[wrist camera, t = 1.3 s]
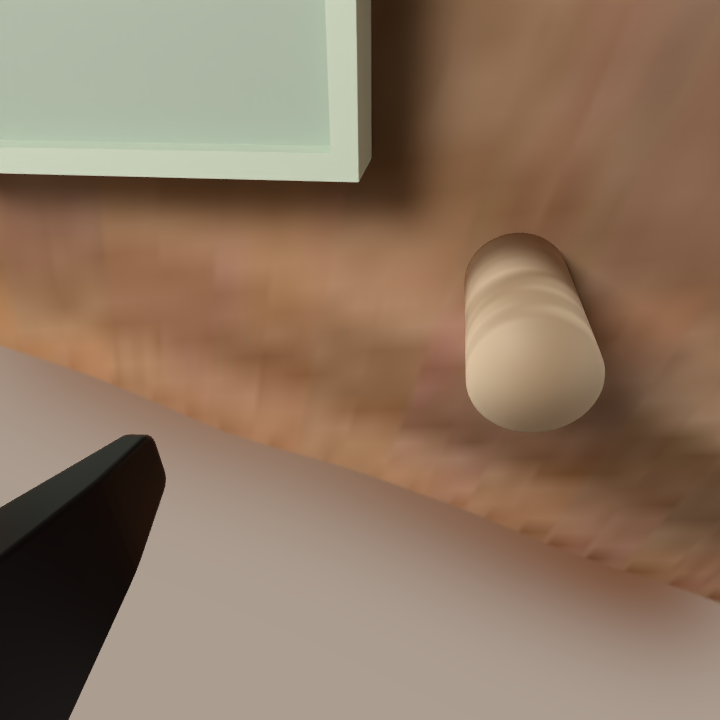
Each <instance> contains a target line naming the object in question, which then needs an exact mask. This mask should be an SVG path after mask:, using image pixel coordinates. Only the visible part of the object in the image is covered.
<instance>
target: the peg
mask: <svg viewBox="0 0 720 720" xmlns="http://www.w3.org/2000/svg"><path fill="white" fill-rule="evenodd" d="M465 351H466V386H467V391H468V394H469V397H470V399H471V401H472V403H473V404H474V406H475V407H476V409H477V410H478V411H479V412H480V413H481V414H482V415H483V416H484V417H486V418H487V419H488V420H490V421H491V422H493V423H495V424H497V425H499V426H501V427H503V428H506V429H509V430H514V431H519V432H531V433H535V432H545V431H550V430H554V429H558V428H561V427H563V426H566V425H568V424H570V423H572V422H574V421H575V420H577V419H578V418H580V417H581V416H583V415H584V414H585V413H586V412H587V411H588V410H589V409H590V408H591V407H592V406H593V405H594V403H595V402H596V400H597V399H598V397H599V395H600V393H601V391H602V388H603V385H604V380H605V366H604V361H603V358H602V355H601V352H600V350H599V347H598V345H597V342H596V340H595V337H594V335H593V332H592V329H591V327H590V324H589V322H588V319H587V317H586V314H585V311H584V309H583V306H582V304H581V301H580V299H579V296H578V294H577V291H576V288H575V286H574V283H573V281H572V278H571V276H570V273H569V270H568V268H567V265H566V263H565V260H564V258H563V256H562V254H561V253H560V252H559V250H558V249H557V248H556V247H555V246H554V245H553V244H552V243H550V242H549V241H547V240H545V239H544V238H542V237H539V236H536V235H532V234H527V233H512V234H507V235H503V236H500V237H497V238H495V239H493V240H491V241H489V242H488V243H486V244H485V245H484V246H482V247H481V248H480V249H479V250H478V251H477V252H476V253H475V255H474V256H473V257H472V259H471V261H470V263H469V265H468V267H467V270H466V274H465Z"/></svg>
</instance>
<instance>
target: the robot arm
mask: <svg viewBox="0 0 720 720" xmlns="http://www.w3.org/2000/svg"><path fill="white" fill-rule="evenodd" d="M165 483H166V476H165V471H164V468H163V465H162V462H161V459H160V456H159V453H158V450H157V447H156V444H155V441H154V439H153V438H152V437H151V436H149V435H133V434H131V435H124V436H122V437H121V438H119V439H117V440H115V441H114V442H112V443H110V444H109V445H107V446H105V447H103V448H102V449H100V450H98V451H97V452H95V453H93V454H91V455H90V456H88V457H86V458H85V459H83V460H81V461H79V462H78V463H76V464H74V465H73V466H71V467H69V468H67V469H66V470H64V471H62V472H61V473H59V474H57V475H55V476H54V477H52V478H50V479H49V480H47V481H45V482H43V483H42V484H40V485H38V486H37V487H35V488H33V489H31V490H30V491H28V492H26V493H25V494H23V495H21V496H19V497H18V498H16V499H14V500H12V501H11V502H9V503H7V504H6V505H4V506H2V507H1V508H0V720H69V717H70V715H71V713H72V711H73V709H74V707H75V704H76V702H77V700H78V698H79V696H80V693H81V691H82V689H83V687H84V684H85V682H86V680H87V678H88V676H89V674H90V672H91V669H92V667H93V665H94V663H95V661H96V659H97V656H98V654H99V652H100V650H101V648H102V645H103V643H104V641H105V639H106V637H107V635H108V632H109V630H110V628H111V626H112V623H113V621H114V619H115V617H116V615H117V613H118V610H119V608H120V606H121V604H122V602H123V600H124V597H125V595H126V593H127V591H128V589H129V586H130V584H131V582H132V580H133V577H134V575H135V573H136V570H137V568H138V565H139V562H140V560H141V557H142V554H143V551H144V548H145V545H146V542H147V539H148V536H149V533H150V530H151V527H152V524H153V521H154V518H155V515H156V512H157V509H158V506H159V503H160V500H161V497H162V495H163V492H164V488H165Z"/></svg>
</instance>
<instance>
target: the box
mask: <svg viewBox="0 0 720 720" xmlns="http://www.w3.org/2000/svg"><path fill="white" fill-rule="evenodd" d="M371 159H372V136H371V0H0V173H8V174H48V175H88V176H128V177H168V178H208V179H248V180H288V181H328V182H359V181H360V179H361V177H362V175H363V173H364V171H365V170H366V168H367V166H368V164H369V162H370V160H371Z"/></svg>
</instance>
